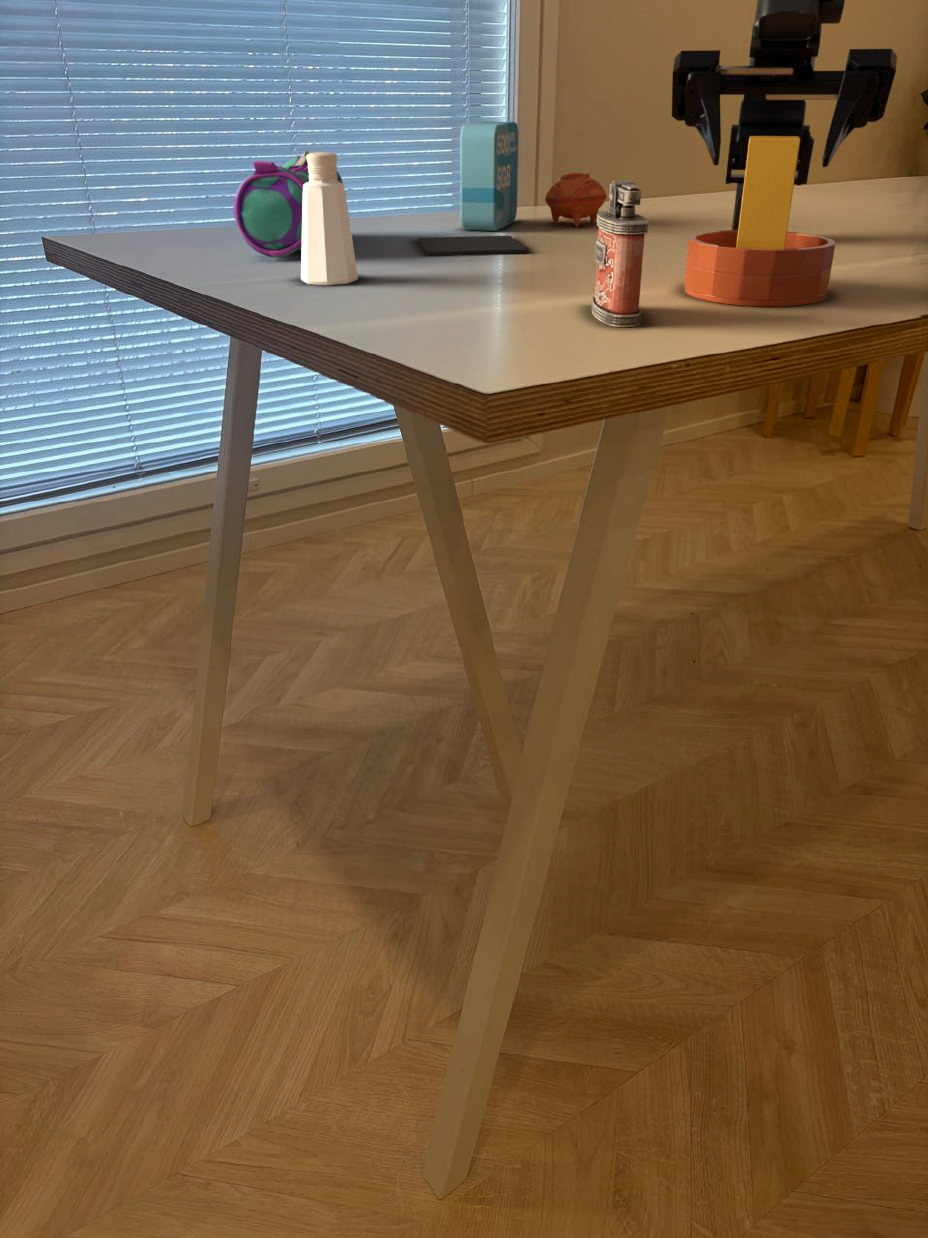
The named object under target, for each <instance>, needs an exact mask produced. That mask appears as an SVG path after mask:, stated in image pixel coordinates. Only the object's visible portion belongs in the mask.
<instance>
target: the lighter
mask: <svg viewBox="0 0 928 1238" xmlns="http://www.w3.org/2000/svg"><path fill="white" fill-rule="evenodd" d="M608 195H609V196H608V197H609V203H608V210H601V211H598V212H597V218H596V226H598V234H597V235H598V237H597V240H596V242H595V255H594V259H595V262H596V269H595V271H596V272H595V285H594V287H595V288H594V296H592V298H591V313H592V315H593V316H594V318H595V319H597V320H599V321H600V322H602V323H603V324H606V325H608V326H611V327H618V328H631V327H637V326H640V325H641V319H642V316H641V315H642V311H641V308H640V299H641V298H640V296H641V285H642V273H643V259H644V248H645V237H646V236H645V235H646V234H647V233H648V232H649V231H648V230H649V220H648V218H647V217H645V216H643V215H641V214H638V213H636V206H641V199H642V190H641V189H640V187H639V186H638V185H636V182H635V180H634V179H631V180H630V179H626V180H625V179H623V180H621V179H615V180H614V179H613V180H612V181H611V183H609V192H608Z"/></svg>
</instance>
